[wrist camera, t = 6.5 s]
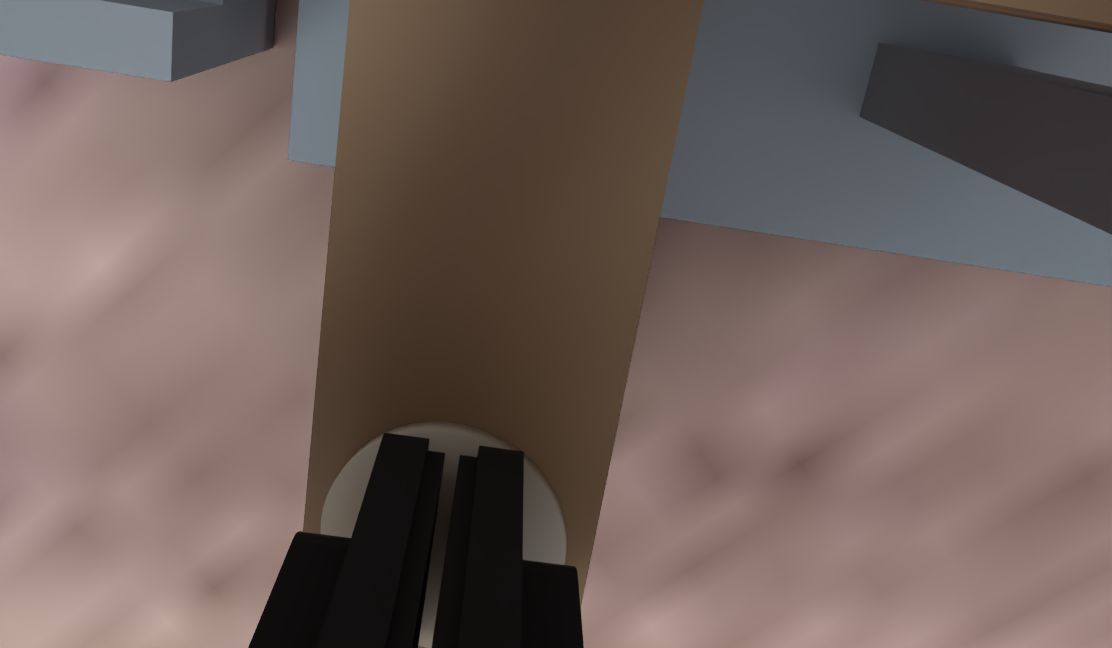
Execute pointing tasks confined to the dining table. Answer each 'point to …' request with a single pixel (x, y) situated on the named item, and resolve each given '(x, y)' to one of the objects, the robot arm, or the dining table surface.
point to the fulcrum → (860, 129)
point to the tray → (137, 34)
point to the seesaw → (504, 243)
